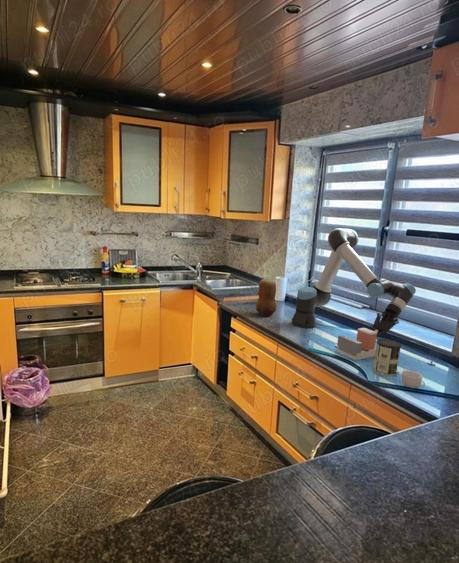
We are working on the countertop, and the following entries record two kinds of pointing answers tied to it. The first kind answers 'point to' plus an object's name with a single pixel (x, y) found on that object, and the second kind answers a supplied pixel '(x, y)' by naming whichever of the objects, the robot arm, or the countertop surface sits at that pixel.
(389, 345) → the coffee can
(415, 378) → the teacup
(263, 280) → the brown curvy cylinder
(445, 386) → the countertop surface
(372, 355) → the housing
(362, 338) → the orange rectangular block
